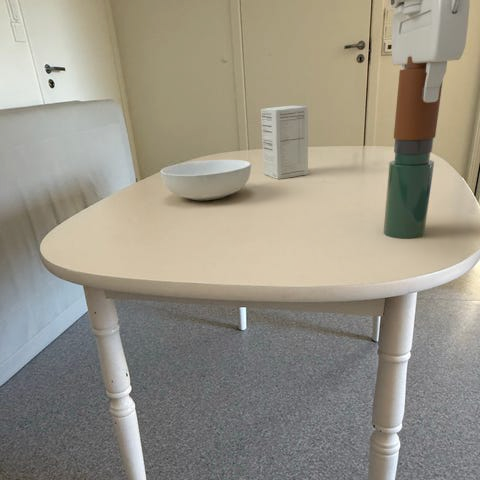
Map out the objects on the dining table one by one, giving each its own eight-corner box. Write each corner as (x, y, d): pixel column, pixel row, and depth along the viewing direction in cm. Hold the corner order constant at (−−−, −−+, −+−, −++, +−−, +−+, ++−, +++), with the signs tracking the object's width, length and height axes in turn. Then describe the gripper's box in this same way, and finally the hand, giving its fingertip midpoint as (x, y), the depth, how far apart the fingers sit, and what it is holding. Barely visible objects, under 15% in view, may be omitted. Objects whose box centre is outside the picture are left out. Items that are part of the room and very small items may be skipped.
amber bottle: (427, 134, 68) (439, 38, 62) (441, 138, 63) (455, 34, 57) (389, 136, 69) (397, 41, 63) (399, 141, 64) (409, 38, 58)
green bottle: (417, 225, 76) (429, 133, 69) (430, 237, 70) (444, 138, 63) (379, 227, 76) (387, 136, 69) (388, 239, 70) (397, 141, 64)
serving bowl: (269, 189, 107) (268, 159, 104) (217, 211, 93) (214, 177, 89) (201, 184, 118) (199, 157, 115) (145, 203, 103) (140, 172, 100)
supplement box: (292, 170, 128) (292, 105, 120) (309, 174, 120) (309, 105, 112) (262, 174, 125) (259, 108, 117) (277, 179, 117) (275, 109, 109)
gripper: (493, -41, 48) (470, 102, 54) (431, -9, 66) (419, 96, 72) (433, -35, 48) (417, 106, 55) (387, -5, 66) (379, 99, 73)
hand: (418, 100), depth 64 cm, fingers open, 8 cm apart
